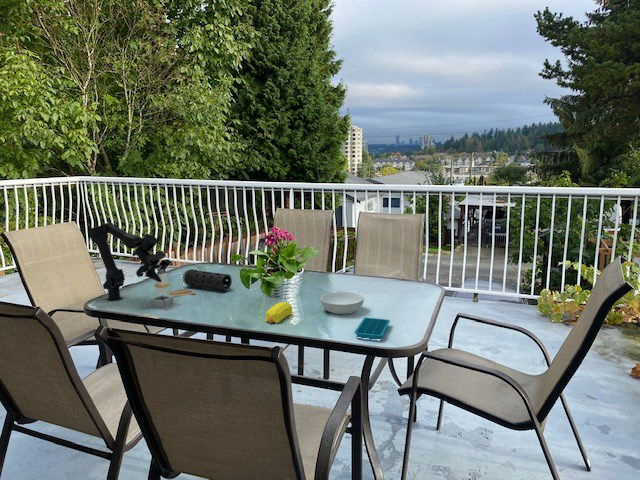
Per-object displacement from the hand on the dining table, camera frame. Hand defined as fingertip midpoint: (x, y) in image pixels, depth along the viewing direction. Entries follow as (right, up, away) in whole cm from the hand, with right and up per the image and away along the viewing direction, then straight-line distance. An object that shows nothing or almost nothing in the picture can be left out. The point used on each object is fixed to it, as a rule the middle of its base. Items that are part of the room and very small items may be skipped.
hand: (163, 280), depth 228 cm
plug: (-1, -6, +2) cm, 7 cm away
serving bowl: (+87, -15, -4) cm, 89 cm away
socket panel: (-1, -13, +2) cm, 14 cm away
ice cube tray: (+99, -20, -32) cm, 106 cm away
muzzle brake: (+13, -8, +35) cm, 38 cm away
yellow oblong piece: (+58, -16, -14) cm, 62 cm away
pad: (+1, -10, +24) cm, 26 cm away
